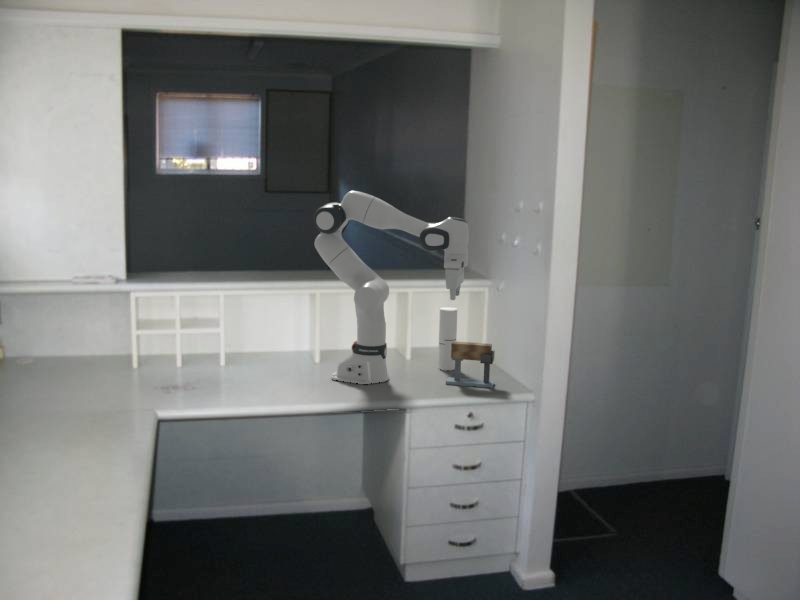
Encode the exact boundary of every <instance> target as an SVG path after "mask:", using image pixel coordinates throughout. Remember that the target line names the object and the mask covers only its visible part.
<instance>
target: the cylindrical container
mask: <svg viewBox="0 0 800 600" xmlns="http://www.w3.org/2000/svg"><path fill="white" fill-rule="evenodd" d="M457 325H458V308H456V307H452V306H451V307H450V306H444V307H443V306H442V307H440V308H439V324H438V327H439V328H438V351H437V352H438V354H437V355H438V359H437V369H438V370H440V369H441V371H447V370H449V371H453V370H454V371H455V360H452V359H451V344H452V342H453V341H457V334H458V333H457V332H458V329H457V328H458V326H457Z"/></svg>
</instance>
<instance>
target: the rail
mask: <svg viewBox="0 0 800 600" xmlns="http://www.w3.org/2000/svg"><path fill="white" fill-rule="evenodd" d="M492 347H493V344H492V343H485V342H484V343H483V342H469V341H457V340H456V341H453V342H452V344H451V359H463V361H464V360H465V361H467V360H468V361H478V362H480V358H481V354H489V355H491V353H492V351H493V349H492Z"/></svg>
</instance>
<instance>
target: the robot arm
mask: <svg viewBox="0 0 800 600" xmlns="http://www.w3.org/2000/svg"><path fill="white" fill-rule="evenodd" d="M350 221H356V222H358V223H360V224H363V225H365V226H368V227H370V228H374V229H378V230H399V231H403V232H406V233H408V234H411V235H413V236H416V237H418V239H419V244H420V246H421V248H422V249H424V250H425V251H428V252H431V253H432V252H440V251H444V259H443V268H444V269H445V272H444V273H445V274H444V275H445V286H446V287H445V288H446V289H447V290H449V295H450V296H449V297H450V298H449V300H451V301H456V299H457V297H459V296H460V293H461V286H462V283H464V281H465V267H468V266H469V248H468V245H469V242H470V240H469V239H470V229H469V224H468V222H467V220H466V219H464V218H461V217H457V216H448V217H447V218H445V219H444V220H442V221H440V222H429V221H428V222H427V221H425V220H422V219H421V218H417V217H415V216H412V215H409V214H408V213H405V212H403V211H401V210H399V209H398V208H396V207H394V206H393V205H392V204H390V203H388V202H386V201H384V200H383V199H380V198H379V197H376V196H374V195H372V194H369V193H365V192H363V191H359V190H358V191H357V190H350V191H348V192H347V193H345V195H344V196H343V197H342V200H341V201H340V202H339V201H333V202H328V203H326V204H324V205H322V206H320V207H319V208H317V210H316V211H315V213H314V215H313V225H314V227H315V229H317V231H319V232H320V233H319V234H318V235H317V236H316V237H315V239H314V245H313V246H314V248H315V250H316V251H317V253H318V254H319V256H320V257H321V259H322V261H324V263H325V264H326V265H327V267H329V268H330V270H331V271H332V272H333V273H334V275H336V277H337V278H338V279H339V280H340V281H341V282H343V284H346V285H347V286H349V287H350V288H351V289H352V290H354V295H353V302H354V307H355V309H354V310H355V316H356V327H357V329H356V330H357V332H356V340H355V341H353V343H352V344H351V349H350V350H352V351H351V352H350V353H348V354H347V355H346V356H344V357H343V358H341V359H340V361H339V363H338V365H337V370H336V371H334V372H333V373H332V374H331V377H330V379H331V378H332V379H333V380H332V379H331V380H332V381H336V380H338V382H343V381H344V382H343V383H350V382H351V384H356V383H358V384H357V385H363V384H368V385H372V384H378V383H379V382H380V383H384V382H386V381H388V380H390V376H389V371H388V367H387V366H388V365H387V360H386V359H387V356H388V347H387V342H386V339H387V338H386V337H387V333H386V332H387V322H386V318H385V308H384V306H385V305H384V304H385V302H386V301H387V300H388V298H389V295H390V288H389V284H388V282H387V281H386V280H385V279H383V278H382V277H381V276H379V274H377V273H376V272H375V271H374V269H372V268H371V267H369V266H368V265H367V264H366V262H364V261H363V260H362V259H361V258H360V257H359V256H358V255H357V253H356V252H355V251H354V250H353V249H352V247H351V246H350V245H349V244H348V243H347V241H346V240H345V239H344V238H343V237H342V236H343V235H342V234H344V232H345V231H346V229H347V227H348V225H349V223H350ZM371 383H372V384H371Z"/></svg>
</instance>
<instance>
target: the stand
mask: <svg viewBox="0 0 800 600" xmlns="http://www.w3.org/2000/svg"><path fill="white" fill-rule="evenodd" d="M452 360H455V369H454V376H453V377H451V376H448V377H447V378H446V380H445V385H453V386H464V387H473V386H476V387H477V388H485V387H490V388H489V389H493V388H494V386H493V385H495V380H490V377H491V376H490V375H491V365H493V364H494V361H495V350H492V353H491V355H489V354H481V358H480V361H479V362H480V364H484V365H483V366H484V367H483V379H478V378H477V379H475V378H465V377H464V378H463V377H461V369H462V367H461V365H462V361H464V359H452ZM476 387H475V388H476Z"/></svg>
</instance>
